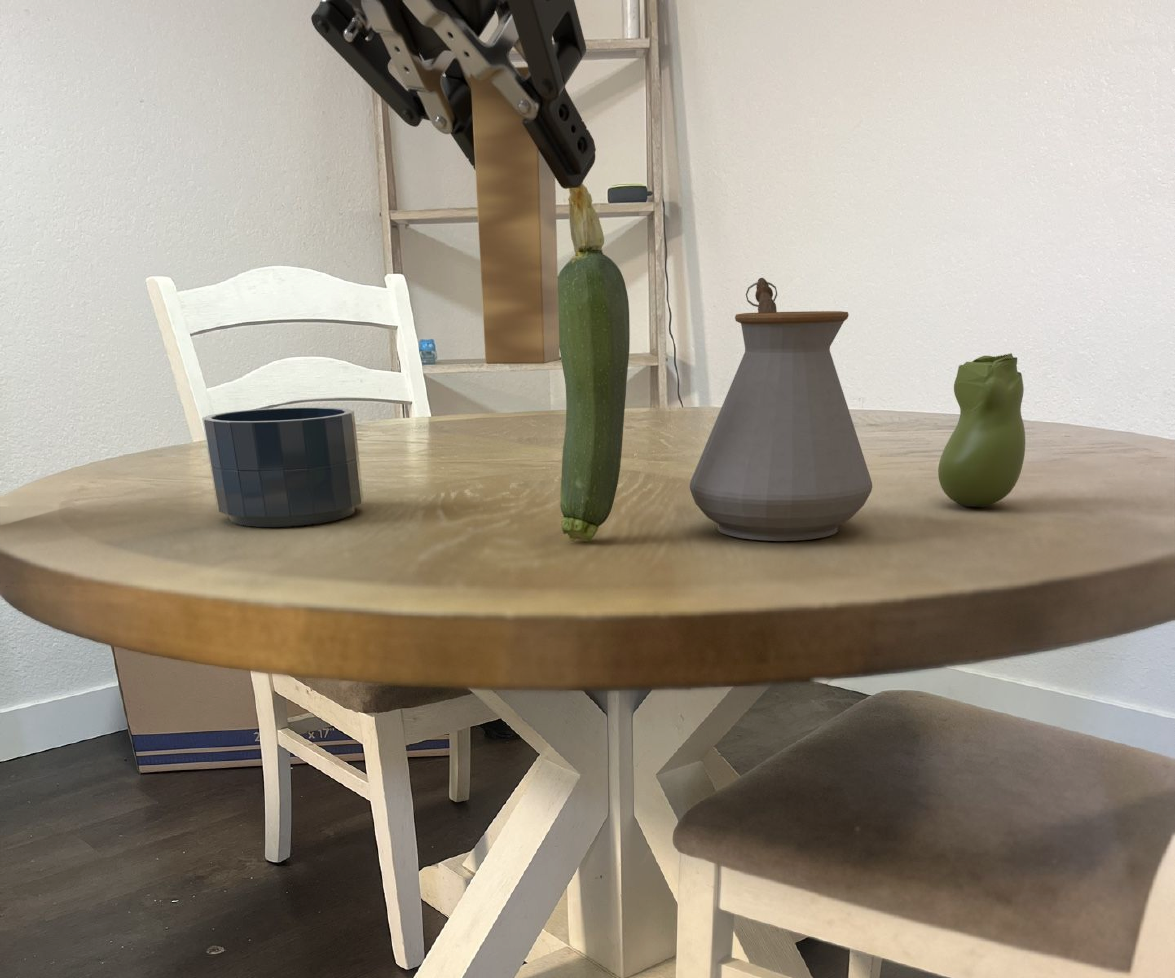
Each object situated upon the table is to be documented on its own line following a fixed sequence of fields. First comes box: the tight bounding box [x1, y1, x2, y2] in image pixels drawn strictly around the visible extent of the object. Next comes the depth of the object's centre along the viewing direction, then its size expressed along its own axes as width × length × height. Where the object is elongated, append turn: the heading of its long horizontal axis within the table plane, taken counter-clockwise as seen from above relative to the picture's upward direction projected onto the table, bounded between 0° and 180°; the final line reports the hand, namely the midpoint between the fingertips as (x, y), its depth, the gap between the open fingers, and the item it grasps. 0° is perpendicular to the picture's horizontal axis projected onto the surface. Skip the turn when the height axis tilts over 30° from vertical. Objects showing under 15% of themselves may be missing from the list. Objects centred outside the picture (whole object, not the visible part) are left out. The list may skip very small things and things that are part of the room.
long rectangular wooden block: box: [470, 65, 561, 365], centre depth 49 cm, size 3×3×12 cm
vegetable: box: [558, 181, 631, 543], centre depth 61 cm, size 4×4×20 cm
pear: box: [937, 352, 1026, 508], centre depth 71 cm, size 6×5×10 cm
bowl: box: [201, 406, 364, 528], centre depth 74 cm, size 10×10×7 cm
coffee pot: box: [689, 277, 873, 542], centre depth 69 cm, size 21×12×15 cm, turn 178°
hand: (545, 177), depth 50 cm, fingers closed on long rectangular wooden block, 4 cm apart
